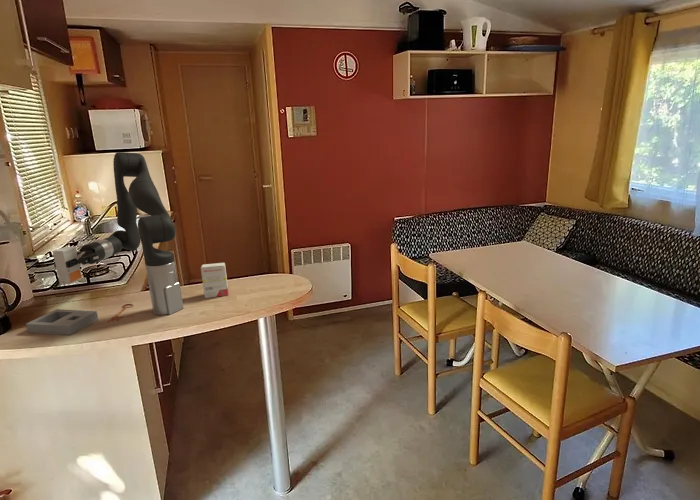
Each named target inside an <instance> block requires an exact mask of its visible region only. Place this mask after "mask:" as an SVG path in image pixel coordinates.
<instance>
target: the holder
mask: <svg viewBox="0 0 700 500" xmlns="http://www.w3.org/2000/svg"><path fill="white" fill-rule="evenodd" d="M98 320H99V317H98V311H96V310H84V309H83V310H81V309H80V310H79V309H61V308H60V309H58V308H56V309H54V310H52V311H50V312H47V313H46V314H43V315H41V316H39V317H37V318H35V319H33V320H30V321H29V322H26V323H25V326H26V330H27V333H28V334H29V333H32V334H43V335H44V334H45V335H46V334H48V335H58V336H59V335H61V336H62V335H64V336H72V335H74V334H76V332H79V331H80V330H83V329H84V328H86V327H88V326H89V325H92V324H93V323H95V322H96V321H98Z"/></svg>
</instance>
